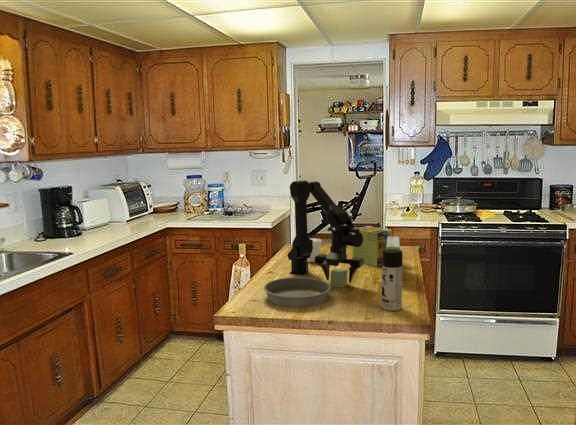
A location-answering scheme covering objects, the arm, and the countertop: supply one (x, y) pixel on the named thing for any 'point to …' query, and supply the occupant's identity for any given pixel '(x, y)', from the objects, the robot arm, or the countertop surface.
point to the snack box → (393, 243)
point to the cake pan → (296, 291)
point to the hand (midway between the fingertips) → (338, 281)
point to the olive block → (339, 277)
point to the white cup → (315, 249)
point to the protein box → (372, 245)
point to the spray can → (392, 279)
